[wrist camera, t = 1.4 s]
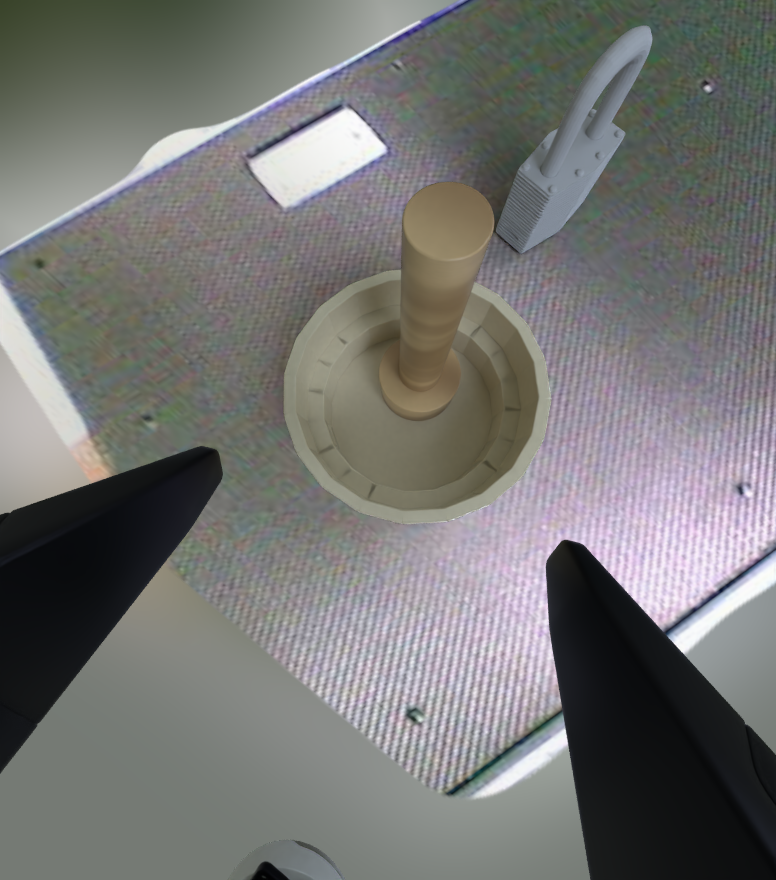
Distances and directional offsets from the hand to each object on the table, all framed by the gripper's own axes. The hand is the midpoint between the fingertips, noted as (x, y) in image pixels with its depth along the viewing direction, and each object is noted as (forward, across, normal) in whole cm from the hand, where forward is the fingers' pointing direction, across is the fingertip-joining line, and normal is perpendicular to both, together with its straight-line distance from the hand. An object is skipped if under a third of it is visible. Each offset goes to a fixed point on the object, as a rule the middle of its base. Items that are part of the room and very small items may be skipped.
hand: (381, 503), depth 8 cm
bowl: (+14, 0, +5) cm, 15 cm away
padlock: (+27, -6, -8) cm, 28 cm away
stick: (+15, 0, +3) cm, 15 cm away
